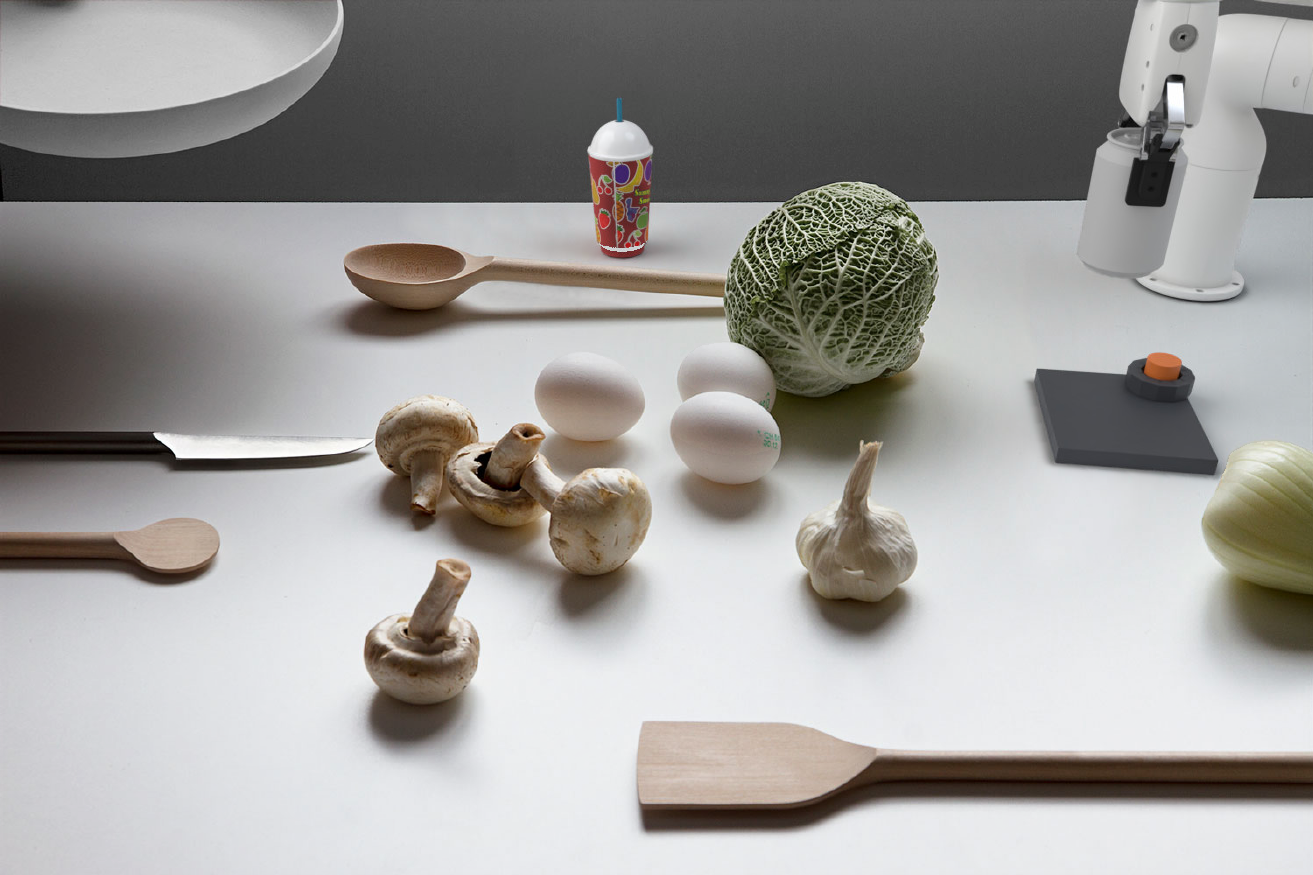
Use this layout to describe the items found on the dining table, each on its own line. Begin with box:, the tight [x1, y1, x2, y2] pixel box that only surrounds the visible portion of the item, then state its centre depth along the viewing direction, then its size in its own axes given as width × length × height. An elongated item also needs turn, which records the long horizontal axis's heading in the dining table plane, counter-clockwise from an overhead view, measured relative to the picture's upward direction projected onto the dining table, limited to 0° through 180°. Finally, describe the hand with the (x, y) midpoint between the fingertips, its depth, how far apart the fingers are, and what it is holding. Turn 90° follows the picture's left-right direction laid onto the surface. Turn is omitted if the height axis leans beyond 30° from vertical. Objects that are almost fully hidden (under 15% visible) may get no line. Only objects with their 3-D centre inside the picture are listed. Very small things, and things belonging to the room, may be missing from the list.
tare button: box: [1144, 351, 1183, 381], centre depth 113 cm, size 3×3×2 cm
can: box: [1076, 128, 1188, 280], centre depth 100 cm, size 8×8×12 cm
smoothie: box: [586, 97, 654, 259], centre depth 146 cm, size 8×8×20 cm
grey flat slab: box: [1033, 357, 1219, 476], centre depth 110 cm, size 17×14×4 cm
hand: (1135, 188), depth 99 cm, fingers closed on can, 7 cm apart
